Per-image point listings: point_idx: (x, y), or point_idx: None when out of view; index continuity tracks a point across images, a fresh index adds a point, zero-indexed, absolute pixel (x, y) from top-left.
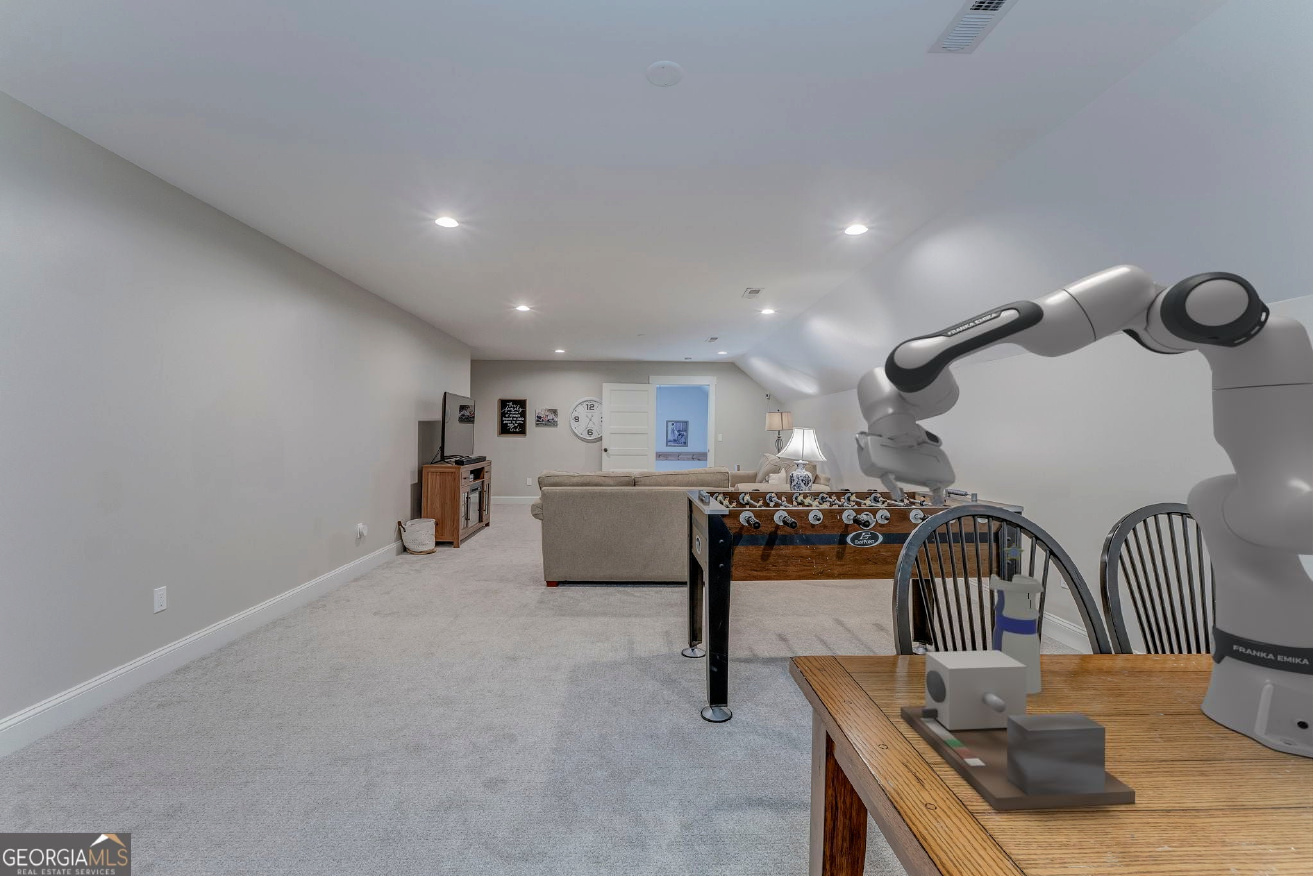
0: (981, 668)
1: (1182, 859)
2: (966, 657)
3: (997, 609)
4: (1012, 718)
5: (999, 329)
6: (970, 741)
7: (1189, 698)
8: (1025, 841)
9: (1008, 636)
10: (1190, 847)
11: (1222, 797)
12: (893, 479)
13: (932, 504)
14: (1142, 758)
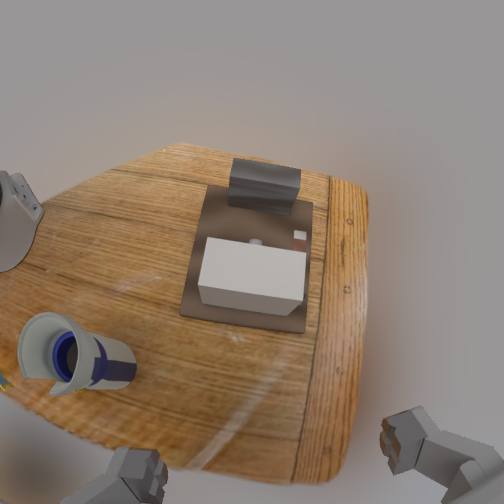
0: (265, 247)
1: (235, 156)
2: (261, 274)
3: (97, 368)
4: (299, 184)
5: None
6: None
7: (2, 283)
8: (312, 185)
9: (109, 351)
10: (219, 160)
11: (142, 183)
12: (467, 452)
13: (165, 476)
14: (139, 225)
